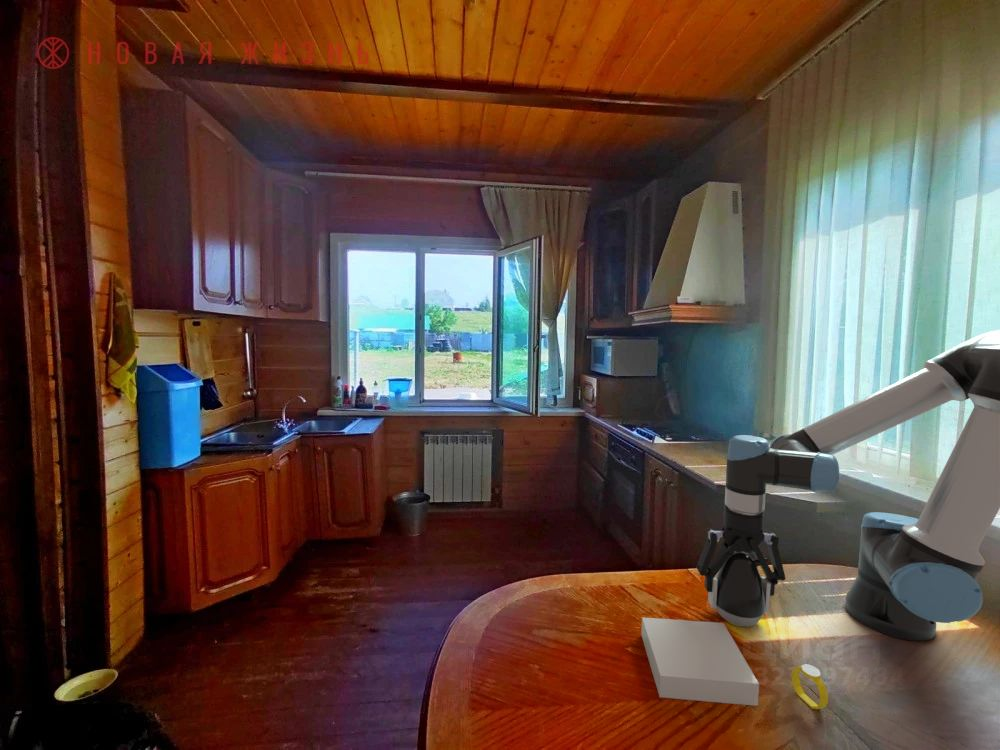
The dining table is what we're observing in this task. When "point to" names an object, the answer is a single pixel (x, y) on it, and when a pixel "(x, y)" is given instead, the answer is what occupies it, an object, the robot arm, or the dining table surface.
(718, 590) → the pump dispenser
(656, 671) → the ceramic base
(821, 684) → the watch
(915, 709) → the dining table surface
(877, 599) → the robot arm
